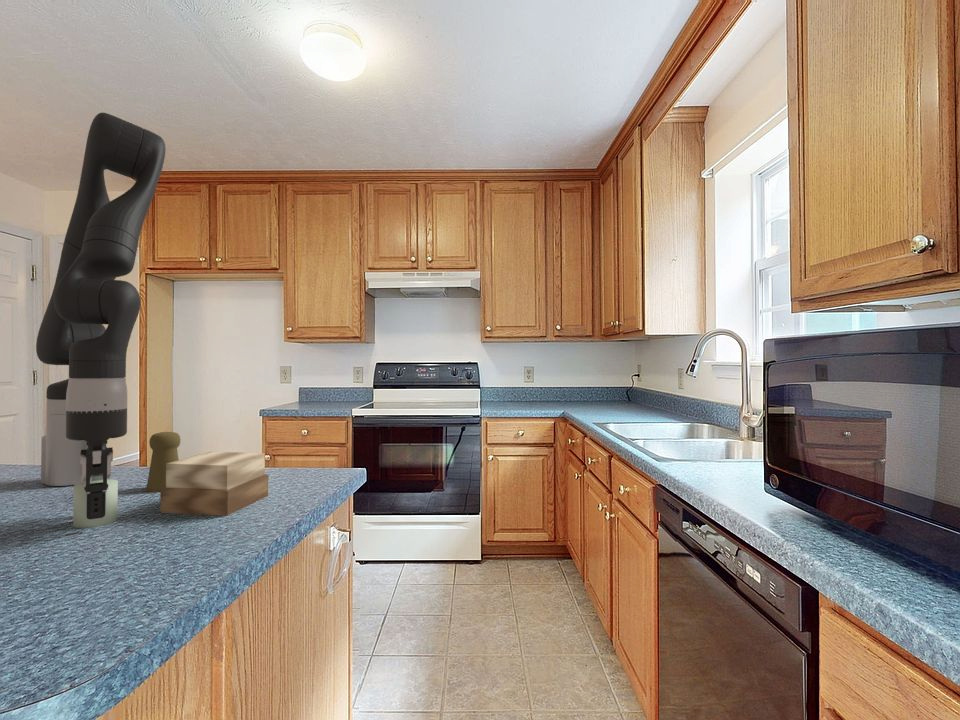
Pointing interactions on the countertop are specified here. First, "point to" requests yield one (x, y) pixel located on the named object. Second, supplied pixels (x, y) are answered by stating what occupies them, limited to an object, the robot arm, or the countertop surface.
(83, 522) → the pale green cylinder
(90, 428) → the robot arm
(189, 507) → the tower base
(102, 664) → the countertop surface
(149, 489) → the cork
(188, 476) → the tower top
